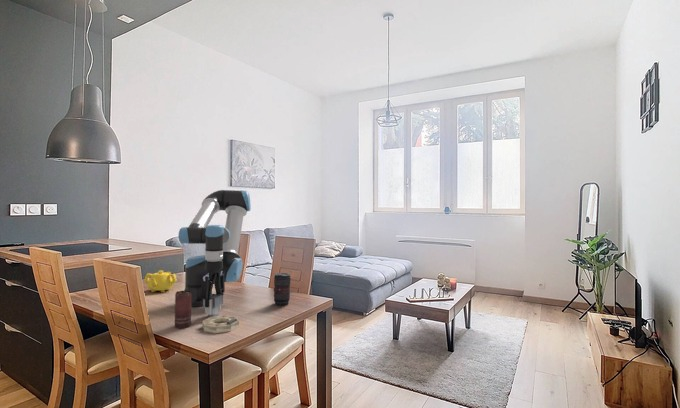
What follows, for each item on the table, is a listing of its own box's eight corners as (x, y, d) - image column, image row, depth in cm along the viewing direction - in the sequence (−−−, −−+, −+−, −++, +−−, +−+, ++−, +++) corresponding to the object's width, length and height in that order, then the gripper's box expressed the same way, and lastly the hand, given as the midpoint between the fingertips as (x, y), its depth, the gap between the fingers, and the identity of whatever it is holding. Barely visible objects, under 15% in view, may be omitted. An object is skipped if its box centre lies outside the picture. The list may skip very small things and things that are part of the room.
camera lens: (286, 307, 176) (287, 276, 176) (271, 305, 178) (271, 275, 178) (292, 302, 184) (292, 273, 184) (277, 301, 186) (277, 272, 186)
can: (177, 323, 150) (177, 289, 150) (192, 323, 150) (193, 289, 150) (171, 328, 144) (172, 293, 143) (188, 328, 144) (188, 293, 144)
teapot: (167, 295, 191) (167, 274, 191) (134, 294, 192) (134, 273, 191) (184, 286, 211) (184, 267, 211) (154, 286, 212) (154, 267, 211)
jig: (195, 330, 143) (196, 322, 143) (216, 319, 156) (216, 312, 156) (225, 334, 139) (225, 326, 139) (244, 323, 152) (244, 315, 152)
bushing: (202, 317, 158) (203, 296, 158) (211, 313, 164) (211, 293, 164) (214, 319, 156) (215, 298, 156) (222, 314, 162) (223, 294, 162)
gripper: (207, 264, 150) (206, 319, 150) (233, 257, 168) (232, 307, 168) (192, 262, 152) (191, 317, 152) (219, 256, 170) (218, 305, 170)
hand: (213, 311), depth 160 cm, fingers closed on bushing, 6 cm apart
